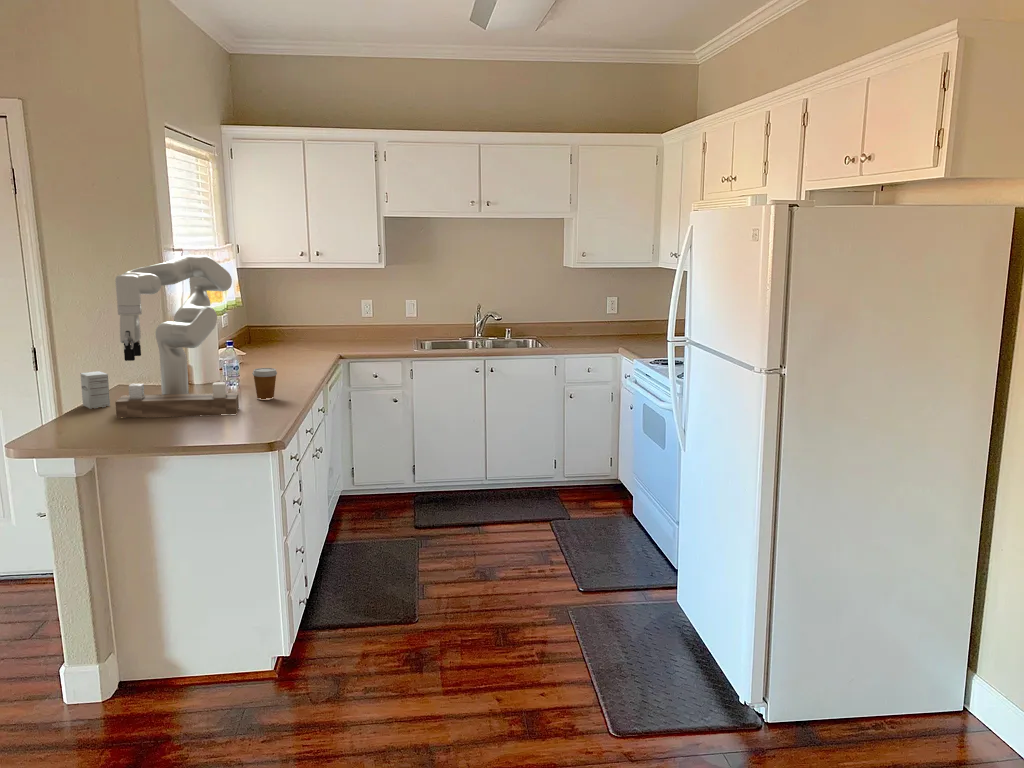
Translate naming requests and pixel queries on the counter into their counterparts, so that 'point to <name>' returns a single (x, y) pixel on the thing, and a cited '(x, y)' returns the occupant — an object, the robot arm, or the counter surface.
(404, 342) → the counter surface
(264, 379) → the disposable coffee cup
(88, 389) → the supplement box
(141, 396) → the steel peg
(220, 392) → the white peg
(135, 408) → the walnut block
